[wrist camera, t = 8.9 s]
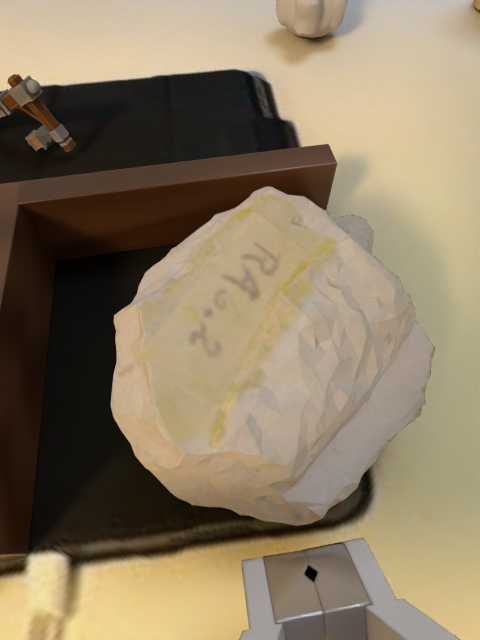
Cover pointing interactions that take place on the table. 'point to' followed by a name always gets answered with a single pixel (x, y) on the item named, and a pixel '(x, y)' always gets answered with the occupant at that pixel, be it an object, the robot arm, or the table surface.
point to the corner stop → (96, 239)
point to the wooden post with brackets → (34, 113)
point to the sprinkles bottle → (477, 4)
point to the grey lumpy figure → (310, 16)
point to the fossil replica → (268, 361)
